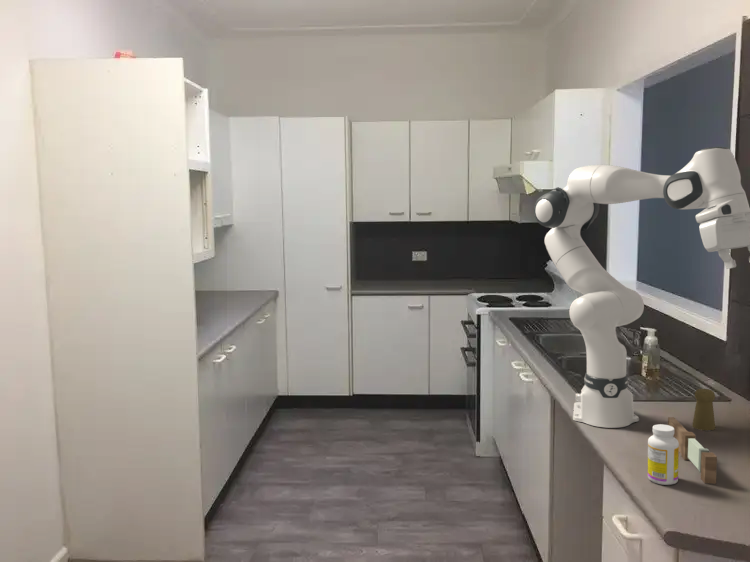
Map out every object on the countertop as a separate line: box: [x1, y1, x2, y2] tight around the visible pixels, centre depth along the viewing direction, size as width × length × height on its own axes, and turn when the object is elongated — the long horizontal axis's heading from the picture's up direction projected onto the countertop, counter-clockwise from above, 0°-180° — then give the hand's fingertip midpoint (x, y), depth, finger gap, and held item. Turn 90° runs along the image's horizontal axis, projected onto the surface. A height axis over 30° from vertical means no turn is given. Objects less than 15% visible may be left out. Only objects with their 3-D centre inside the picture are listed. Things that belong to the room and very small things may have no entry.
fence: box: [667, 416, 718, 485], centre depth 167 cm, size 28×2×6 cm, turn 173°
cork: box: [691, 388, 716, 432], centre depth 189 cm, size 6×6×11 cm
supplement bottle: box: [647, 423, 680, 486], centre depth 156 cm, size 7×7×13 cm
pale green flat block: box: [688, 438, 710, 474], centre depth 161 cm, size 9×2×6 cm, turn 173°
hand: (743, 266), depth 159 cm, fingers open, 8 cm apart
